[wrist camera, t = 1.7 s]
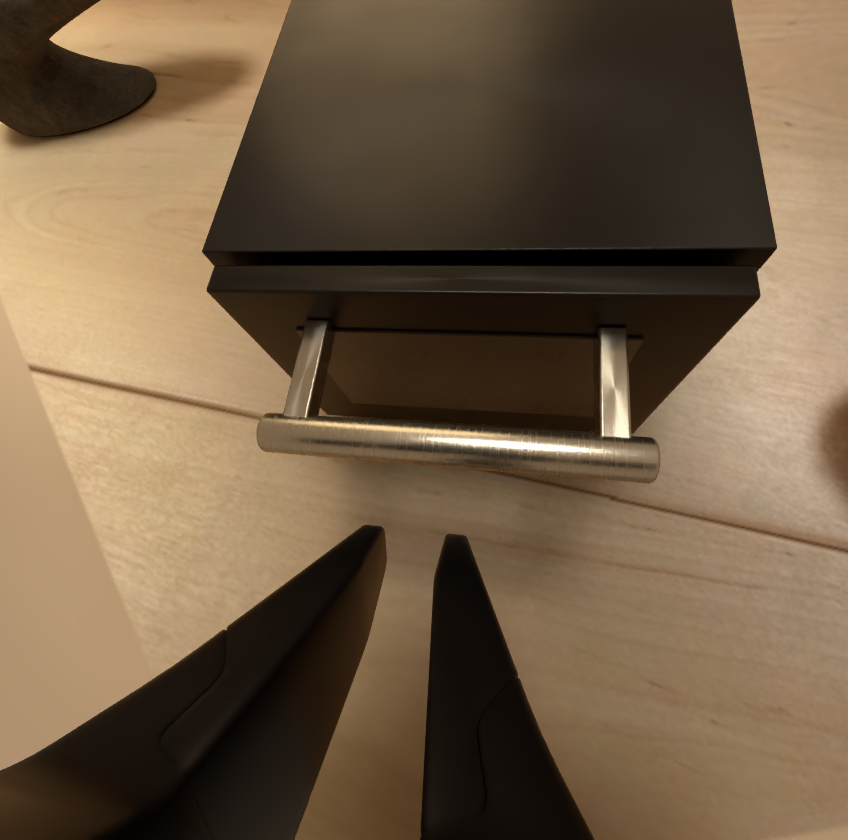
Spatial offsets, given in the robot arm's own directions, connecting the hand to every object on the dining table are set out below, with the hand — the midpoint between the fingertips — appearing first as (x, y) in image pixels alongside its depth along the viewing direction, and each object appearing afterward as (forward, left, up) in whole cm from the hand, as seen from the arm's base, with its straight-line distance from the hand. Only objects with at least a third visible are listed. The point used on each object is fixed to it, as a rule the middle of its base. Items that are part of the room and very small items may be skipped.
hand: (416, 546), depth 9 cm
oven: (+14, +3, -14) cm, 20 cm away
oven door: (+5, +1, -11) cm, 12 cm away
